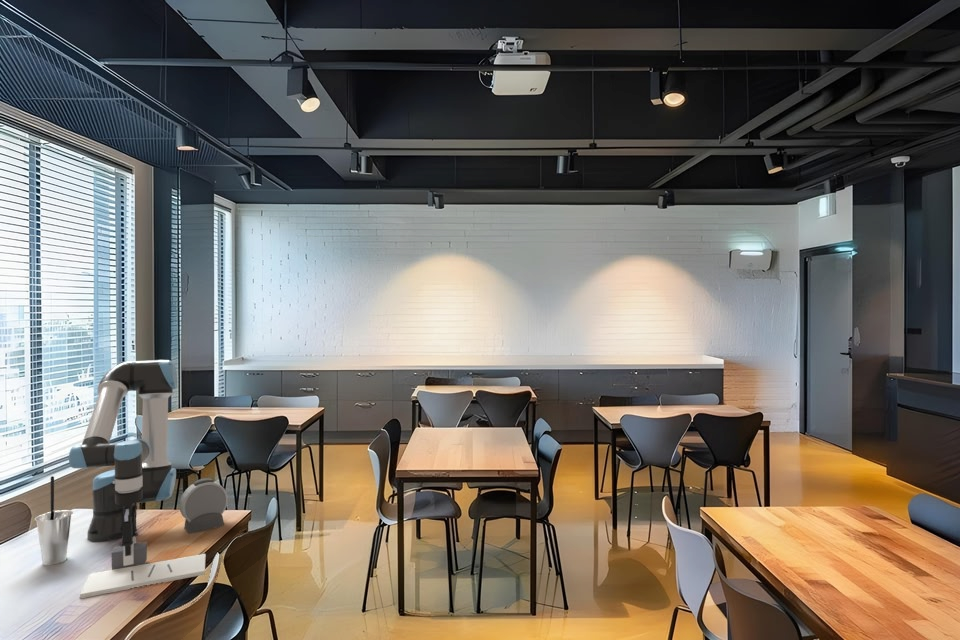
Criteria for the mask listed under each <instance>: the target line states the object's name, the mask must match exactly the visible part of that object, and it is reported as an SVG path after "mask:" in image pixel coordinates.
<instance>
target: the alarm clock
mask: <svg viewBox="0 0 960 640" xmlns="http://www.w3.org/2000/svg"><path fill="white" fill-rule="evenodd" d="M228 502H229V497H228V492H227V490H226V489H225V488H224V487H223V486H222V485H221V484H219V482H216V481H215V479H213V478H208V477H207V478H206V477H205V478H203V477H202V478H200V479H198V480H195V481H194V482H193V483H192V484H190V485H189V486H188V487H187V488H186V489H185V491H183V493H182V494H181V498H180V499H179V512H180V514H181V516H182V517H183V518H185V520H184V526H183V527H184V528H183V529H184V530H185V531H186V532H187V533H188V534H195V533H201V532H205V531H209V530H213V529H217V528H219V527H222V526H224V525H225V523H224V517H223V514H224V512H225V511H226V508H227V507H228Z"/></svg>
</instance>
